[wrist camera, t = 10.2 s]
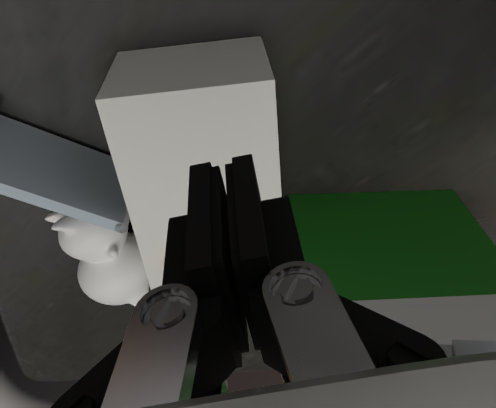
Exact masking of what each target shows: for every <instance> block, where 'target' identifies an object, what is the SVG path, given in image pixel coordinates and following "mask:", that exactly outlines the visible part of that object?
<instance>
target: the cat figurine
mask: <svg viewBox="0 0 496 408" xmlns="http://www.w3.org/2000/svg"><path fill="white" fill-rule="evenodd" d="M45 220H47V221H49V222H53V223H54V224H53V226H52V228H51V229H52V230H56V231H58V240H59V244H60V246H61V248H62V250H63V251H64V252H65V253H67V254H68V255H70V256H71V257H73V258H76V259H78V260H81V261H80V263H79V266H78V281H79V284H80V287H81V288H82V290H83V291H84V293H85V294H86V295H87V296H89V297H90V298H91V299H93V300H95V301H97V302H99V303H103V304H107V305H123V304H127V303H129V304H132V305H134V306H136V304H137V302H138V301H139V300H140V299H141V298H142V297H143V296H144V295H145V294H146V293H148V292H149V286H150V285H149V281H148V278H147V275H146V271H145V268H144V265H143V261H142V258H141V254H140V251H139V248H138V244H137V241H136V237H135V234H134V233H129V232H128V229H127V231H126V232H125V233H119V232H116V231H112V230H109V229H106V228H103V227H100V226H97V225H94V224H91V223H88V222H85V221H82V220H79V219H76V218H72V217H69V216H66V215H63V214H60V213H57V212H53V213H50V214H48V215H47V216H46V218H45Z"/></svg>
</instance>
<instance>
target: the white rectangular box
mask: <svg viewBox="0 0 496 408" xmlns="http://www.w3.org/2000/svg"><path fill="white" fill-rule="evenodd" d="M95 102H96V105H97V109H98V112H99V116H100V119H101V122H102V126H103V129H104V133H105V136H106V139H107V143H108V146H109V149H110V153H111V156H112V160H113V163H114V166H115V170H116V173H117V177H118V180H119V183H120V187H121V190H122V193H123V197H124V200H125V204H126V207H127V210H128V214H129V217H130V221H131V224H132V227H133V231H134V234H135V237H136V241H137V244H138V248H139V251H140V254H141V258H142V261H143V265H144V268H145V271H146V275H147V278H148V281H149V285H150V288H151V290H152V289H154V288H157V287H159V286H161V285H162V281H163V271H164V261H165V251H166V241H167V230H168V222H169V219H170V218H172V217H178V216H183V215H187V209H188V188H189V168H190V166H191V165H196V164H201V163H206V162H210V163H211V165H212V167H214V166H219V167H220V171H221V174H222V178H223V182H224V186H225V190H226V175H225V164H230V163H232V157H238V156H243V155H248V154H252V158H253V163H254V167H255V172H256V177H257V182H258V187H259V192H260V197H261V201H263V200H268V199H274V198H279V197H282V194H281V177H280V160H279V143H278V125H277V108H276V91H275V79H274V76H273V72H272V69H271V66H270V63H269V60H268V57H267V54H266V51H265V47H264V44H263V41H262V38H261V36H256V37H247V38H238V39H229V40H220V41H211V42H202V43H193V44H184V45H175V46H167V47H158V48H149V49H140V50H131V51H122V52H118V53H117V55H116V57H115V58H114V60H113V62H112V64H111V66H110V68H109V70H108V72H107V74H106V76H105V78H104V81H103V83H102V85H101V87H100V89H99V91H98V95H97V97H96V99H95ZM226 194H227V191H226Z"/></svg>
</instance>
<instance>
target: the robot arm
mask: <svg viewBox="0 0 496 408" xmlns="http://www.w3.org/2000/svg"><path fill="white" fill-rule="evenodd" d="M225 175H226V190H225V186H224V182H223V178H222V174H221V171H220V167H219V166H214V167H212V165H211V163H210V162H206V163H201V164H196V165H191V166H190V168H189V188H188V209H187V215H183V216H178V217H172V218H170V219H169V222H168V230H167V241H166V251H165V261H164V271H163V281H162V285H161V286H159V287H157V288H154V289H152V290H151V291H149V292H148V293H146V294H145V295H144V296H143V297H142V298H141V299H140V300H139V301H138V302H137V304H136V306H135V308H134V310H133V313H132V316H131V319H130V322H129V325H128V328H127V331H126V334H125V337H124V340H123V341H122V342H121V343H120V344H119V345H118V346H117V347H116V348H115V349H113V350H112V351H111V352H110V353H109V354H108V355H107V356H106V357H104V358H103V359H102V360H101V361H100V362H99V363H98V364H97V365H96V366H94V367H93V368H92V369H91V370H90V371H89V372H88V373H87V374H86V375H84V376H83V377H82V378H81V379H80V380H79V381H78V382H77V383H75V385H73V386H72V387H71V388H70V389H69V390H68V391H67V392H66V393H64V394H63V395H62V396H61V397H60V398H59V399H58V400H57V401H56V402H55V404H53V405H52V407H51V408H496V341H482V340H452V345H443V344H438V343H437V342H435V341H434V340H432V339H431V338H429V337H428V336H426V335H424V334H422V333H420V332H418V331H415V330H413V329H411V328H409V327H407V326H405V325H403V324H400V323H398V322H396V321H394V320H392V319H390V318H388V317H385V316H383V315H381V314H379V313H377V312H375V311H373V310H370V309H368V308H366V307H364V306H362V305H360V304H358V303H356V302H353V301H351V300H349V299H347V298H345V297H343V296H341V295H338V294H337V293H336V291H335V289H334V287H333V285H332V283H331V281H330V279H329V277H328V275H327V274H326V273H325V272H324V270H323V269H322V268H320V267H319V266H317V265H315V264H312V263H309V262H306V261H305V260H304V256H303V252H302V248H301V244H300V240H299V235H298V231H297V227H296V223H295V219H294V215H293V211H292V207H291V203H290V199H289V196H284V197H279V198H274V199H268V200H263V201H261V197H260V192H259V187H258V182H257V177H256V172H255V167H254V163H253V158H252V154H248V155H243V156H238V157H232V163H230V164H225ZM226 191H227V194H226ZM246 319H247V322H248V326H249V329H250V333H251V337H252V340H253V344H254V348H255V350H261V354H262V357H263V361H264V363H265V364H267V365H268V366H270V367H272V368H273V369H275V370H276V371H278V372H279V373H281V375H282V379H283V384H278V385H271V386H265V387H259V388H253V389H247V390H241V391H235V392H230V393H228V383H227V380H226V379H227V378H228V377H229V375H230V374H231V373H232V372H233V371H234V370H235V369H236V368H238V367H242V356H241V353H244V352H249V344H248V333H247V322H246Z"/></svg>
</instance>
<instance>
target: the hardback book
mask: <svg viewBox="0 0 496 408" xmlns="http://www.w3.org/2000/svg"><path fill="white" fill-rule="evenodd" d="M288 196H289V199H290V203H291V207H292V211H293V215H294V219H295V223H296V227H297V231H298V235H299V240H300V244H301V248H302V252H303V256H304V260H305V261H306V262H309V263H312V264H315V265H317V266H319V267H320V268H322V269H323V270H324V272H325V273H326V274H327V275H328V277H329V279H330V281H331V283H332V285H333V287H334V289H335V291H336V293H337V294H338V295H341V296H343V297H345V298H347V299H349V300H351V301H353V302H356V303H358V304H360V305H362V306H364V307H366V308H368V309H370V310H373V311H375V312H377V313H379V314H381V315H383V316H385V317H388V318H390V319H392V320H394V321H396V322H398V323H400V324H403V325H405V326H407V327H409V328H411V329H413V330H415V331H418V332H420V333H422V334H424V335H426V336H428V337H429V338H431V339H432V340H434V341H435V342H437V343H438V344H443V345H452V340H482V341H496V246H495V245H494V243H493V242H492V241H491V239H490V238H489V237H488V235H487V234H486V233H485V232H484V230H483V229H482V228H481V226H480V225H479V224H478V222H477V221H476V220H475V218H474V217H473V216H472V214H471V213H470V212H469V210H468V209H467V208H466V207H465V205H464V204H463V203H462V201H461V200H460V199H459V197H458V196H457V195H456V193H455V192H454V191H453V190H424V191H391V192H359V193H326V194H293V195H288Z"/></svg>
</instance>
